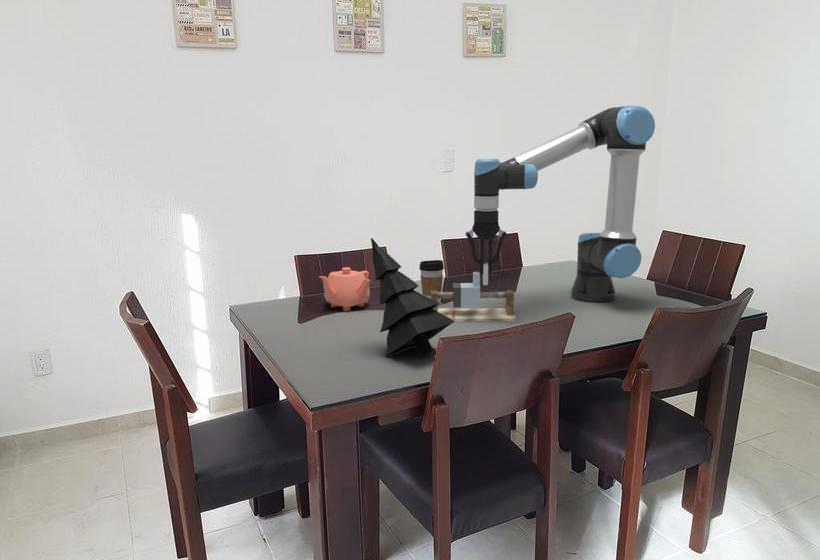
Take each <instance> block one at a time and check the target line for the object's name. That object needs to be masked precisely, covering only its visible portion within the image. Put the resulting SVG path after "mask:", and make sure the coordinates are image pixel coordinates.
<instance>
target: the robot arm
mask: <svg viewBox="0 0 820 560" xmlns="http://www.w3.org/2000/svg"><path fill="white" fill-rule="evenodd" d="M655 123H656V122H655V118H654V116H653V115H652V113H651V112H650V111H649V109H647V108H645V107H643V106H641V105H625V106H615V107H609V108H607V109H603V110H602V111H601V112H598V113H596V114H595V115H592V116H591V117H589V118H587V119H585V120H583V121H580V122H579V124H578V126H577V127H575V128H573V129H571V130H568V131H567V132H564V133H562V134H560V135H559V136H556V137H554V138H552V139H550V140H548V141H545V142H543V143H541V144H539V145H537V146H535V147H533V148H530V149H529V150H527V151H525V152H522V153H520V154H517V155H516V156H513V157H512V158H509V159H507V160H505V161H503V162H502V161H500V159H499V158H478V159H476V160H475V162H474V171H473V172H474V173H473V177H474V181H473V182H474V185H473V186H474V191H473V192H474V193H473V195H474V196H473V201H474V202H473V207H474V209H475V210H473V225H472V227H471V229H470V230H469V231H466V232H465V236H466V237H467V239H468V242H469V245H470V250H471V254H472V257H473V262H474V263H476V264H478V265H479V269H478V272H480V275H482V286H488V285H489V275H492V272H493V271H492V270H493V269H492V268H493V266H492V265H493V264H494V263H497V262H498V261H499V257H500V253H501V250H502V247H503V246H502V245H503V244H504V243H503V242H504V240H505V239H506V237H507V231H503V230H502V229H501V226H500V225H499V213H500V212H499V207H500V206H499V204H500V202H499V201H500V200H499V199H500V191H503V190H529V189H534V188H536V186H537V184H538V180H539V172H540V171H541V170H543V169H545V168H548V167H549V166H552V165H554V164H556V163H558V162H561V161H562V160H565V159H567V158H568V157H571V156H573V155H575V154H577V153H580V152H582V151H583V150H586V149H589V150H593V149H596V148H597V147H600V146H606V151H607V152H608V153H609V154H610V163H609V166H610V167H609V176H608V187H607V188H608V189H607V200H606V210H605V222H604V223H605V224H604V230H603V231H602V232H587V233H581V234H580V235H579V236H578V239H577V240H578V241H577V262H576V263H577V265H576V276H575V278H574V282H573V285H572V287H571V290H570V297H571V298H573V299H574V300H578V301H582V302H589V303H590V302H591V303H604V302H606V303H607V302H610V301H614V300H615V299H616V289H615V285H614V282H613V278H617V279H626V278H629V277H630V276H632V275H634V274H635V272H637V271H638V269H639V268H640V265H641V264H642V253H641V251H640V249H639V248H638V246H636V245H637V239H638V238H637V235H636V234H635V233H634V232H633V230H634V229H633V228H634V217H635V209H636V208H635V206H636V196H637V187H638V175H639V168H640V167H639V166H640V165H639V164H640V156H641V155H642V154H643V153H644V152H646V147H647V142H648V141H649V140H651V138H653V135H654V134H655V129H656V124H655ZM474 234H475V235H476V237H477V238H478V239H479V247H478V251H479V253H478V254H479V255H477V251H476V246H475V243H474V239H473V237H475V236H474ZM497 234H498V235H497ZM496 236H498V240H497V244H496V247H495V250H494V254H493V239H494V238H495V237H496ZM485 240H487V262H484V261H485V259H484V258H485V257H484V256H485Z"/></svg>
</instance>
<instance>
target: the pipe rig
mask: <svg viewBox="0 0 820 560" xmlns="http://www.w3.org/2000/svg"><path fill="white" fill-rule="evenodd" d="M438 298H441V299H452V300H453V291H441V292H437V291H431V299H432V300H434V301H436V302H438ZM480 299H505V307H503V308H502V307H500V308H499V307H496V308H495V307H494V308H493V307H492V308H491V307H490V308H489V307H488V308H487V307H486V308H483V307H464V308H449V307H448V308H447V307H446V308H445V307H443V308H441V307H440V308H438V307H439V305H437V306H436V307H434V308H433V309H434V310H436V311H437V312H439V313H441V314H443V315H445V316H447V317H448V318H450V319H452V320H453V321H455V322H456V323H458V322H460V323H462V322H463V323H465V322H470V323H472V322H473V323H475V322H474V321H484V322H486V321H487V322H486V323H490V322H491V323H493V322H505V323H506V322H517V321H518V320H517V319H518V318H517V315H516V314H515V292H514V290H513V289H511V290H509V289H507V290H505V291H480ZM455 322H454V323H455ZM484 322H483V323H484Z"/></svg>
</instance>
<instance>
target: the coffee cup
mask: <svg viewBox="0 0 820 560" xmlns="http://www.w3.org/2000/svg"><path fill="white" fill-rule="evenodd" d="M418 268H419V270H420V283H421V284H420V285H421V294H422V295H424V296H426V297H428V298H430V299H431V291H437V292H442V289H443V288H442V287H443V278H444V274H443V270H444V269H445V266H444V260H442V259H436V260H435V259H433V260H422V261H420V263H419V267H418ZM441 300H442V298H438V303H440V304H438V306H439V305H441Z"/></svg>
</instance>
